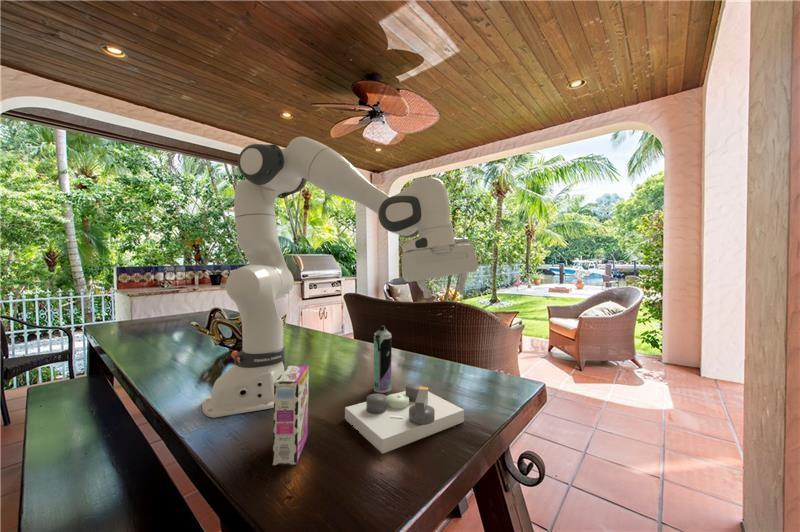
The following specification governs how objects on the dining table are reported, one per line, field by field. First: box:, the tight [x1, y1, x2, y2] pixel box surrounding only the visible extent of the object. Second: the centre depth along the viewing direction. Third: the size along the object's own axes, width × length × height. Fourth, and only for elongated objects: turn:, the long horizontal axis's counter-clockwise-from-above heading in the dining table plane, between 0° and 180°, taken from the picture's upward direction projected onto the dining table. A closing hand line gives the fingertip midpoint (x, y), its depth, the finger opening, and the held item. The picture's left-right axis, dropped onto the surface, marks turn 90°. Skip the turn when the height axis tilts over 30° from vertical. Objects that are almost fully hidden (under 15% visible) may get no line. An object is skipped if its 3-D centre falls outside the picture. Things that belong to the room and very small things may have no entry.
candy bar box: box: [272, 365, 310, 467], centre depth 68 cm, size 11×5×16 cm, turn 5°
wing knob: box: [409, 386, 435, 425], centre depth 76 cm, size 9×6×6 cm, turn 170°
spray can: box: [373, 325, 393, 394], centre depth 101 cm, size 6×6×20 cm
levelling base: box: [344, 383, 465, 454], centre depth 81 cm, size 24×18×6 cm
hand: (444, 294), depth 82 cm, fingers open, 8 cm apart
